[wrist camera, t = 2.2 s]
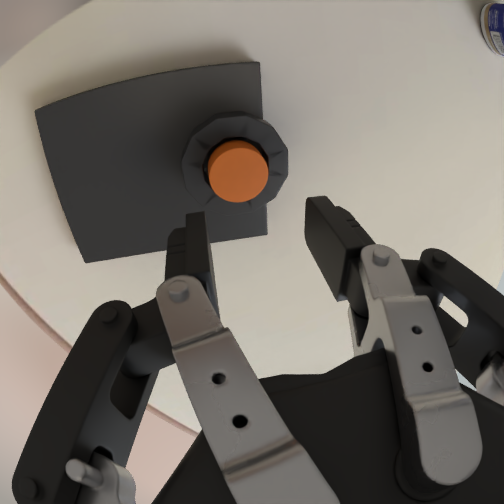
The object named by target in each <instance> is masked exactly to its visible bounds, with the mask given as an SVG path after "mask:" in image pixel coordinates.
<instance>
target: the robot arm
mask: <svg viewBox="0 0 504 504" xmlns="http://www.w3.org/2000/svg"><path fill="white" fill-rule="evenodd" d="M304 232H305V240H306V244H307V246H308V248H309V250H310V252H311V254H312V255H313V257H314V259H315V261H316V263H317V265H318V267H319V268H320V270H321V272H322V274H323V276H324V278H325V280H326V282H327V284H328V285H329V287H330V289H331V291H332V293H333V295H334V297H335V299H336V301H337V302H338V301H343V300H348V301H349V303H350V304H349V308H348V318H349V324H350V330H351V336H352V343H353V350H354V358H352V359H350V360H348V361H347V362H345V363H343V364H341V365H339V366H338V367H336V368H334V369H332V370H330V371H329V372H327V373H324V374H301V375H296V374H282V375H277V376H272V377H267V378H261V379H258V378H257V376H256V375H255V373H254V371H253V369H252V368H251V366H250V364H249V362H248V361H247V359H246V357H245V355H244V354H243V352H242V350H241V348H240V347H239V345H238V343H237V341H236V339H235V338H234V336H233V334H232V332H231V331H230V329H229V328H228V327H226V328H224V327H223V325H222V323H221V321H220V314H219V307H218V299H217V292H216V284H215V276H214V268H213V260H212V253H211V246H210V240H209V234H208V228H207V222H206V216H205V211H201V212H195V213H188V214H186V227H182V228H176V229H174V230H173V231H172V232H171V234H170V235H169V237H168V242H167V255H166V267H165V281H164V282H163V283H162V284H161V285H160V286H159V287H158V289H157V291H156V297H155V298H154V299H152V300H151V301H149V302H147V303H145V304H142V305H140V306H137V307H135V308H132V309H131V307H130V306H129V304H127V303H126V302H124V301H120V300H114V301H109V302H106V303H104V304H102V305H101V306H99V307H98V308H97V309H96V310H95V311H94V312H93V313H92V315H91V317H90V318H89V320H88V322H87V323H86V325H85V327H84V328H83V330H82V332H81V334H80V335H79V337H78V339H77V341H76V342H75V344H74V346H73V348H72V349H71V351H70V353H69V355H68V357H67V358H66V360H65V362H64V364H63V366H62V368H61V370H60V372H59V374H58V375H57V378H56V379H55V381H54V383H53V385H52V387H51V389H50V391H49V393H48V395H47V397H46V399H45V401H44V403H43V406H42V408H41V410H40V412H39V414H38V416H37V419H36V421H35V423H34V425H33V428H32V430H31V432H30V435H29V437H28V439H27V442H26V444H25V447H24V449H23V452H22V454H21V456H20V459H19V462H18V464H17V467H16V470H15V472H14V475H13V479H12V491H13V495H14V497H15V500H16V501H17V503H18V504H136V503H135V491H136V485H135V481H134V479H133V477H132V475H131V474H130V472H129V471H128V470H127V469H125V467H126V464H127V461H128V458H129V455H130V452H131V449H132V446H133V443H134V440H135V437H136V434H137V431H138V428H139V425H140V422H141V420H142V417H143V414H144V411H145V409H146V406H147V403H148V400H149V397H150V395H151V392H152V389H153V387H154V384H155V381H156V378H157V376H158V373H159V370H160V369H162V368H165V367H167V366H169V365H172V364H174V363H176V364H177V367H178V370H179V372H180V375H181V378H182V380H183V383H184V386H185V388H186V391H187V393H188V396H189V398H190V401H191V403H192V406H193V408H194V411H195V413H196V416H197V418H198V420H199V423H200V425H201V427H202V430H201V432H200V433H199V435H198V436H197V438H196V439H195V441H194V443H193V444H192V445H191V447H190V448H189V450H188V451H187V453H186V455H185V456H184V458H183V459H182V460H181V462H180V463H179V465H178V466H177V468H176V469H175V471H174V472H173V474H172V475H171V477H170V478H169V479H168V481H167V483H166V484H165V485H164V487H163V488H162V489H161V491H160V492H159V494H158V495H157V496H156V498H155V499H154V501H153V502H152V503H151V504H504V296H503V295H502V294H501V293H500V292H498V291H497V290H496V289H495V288H493V287H492V286H491V285H490V284H488V283H487V282H486V281H484V280H483V279H482V278H481V277H479V276H478V275H477V274H475V273H474V272H473V271H471V270H470V269H469V268H467V267H466V266H464V265H463V264H462V263H460V262H459V261H458V260H456V259H455V258H453V257H452V256H451V255H449V254H448V253H446V252H444V251H442V250H439V249H435V248H429V249H426V250H424V251H423V252H422V254H421V257H420V260H406V259H401V258H400V256H399V255H398V253H397V252H396V251H395V250H393V249H392V248H390V247H387V246H384V245H380V244H376V243H375V242H374V241H373V240H372V238H371V237H370V236H369V235H368V234H367V232H366V231H365V230H364V229H363V228H362V227H361V226H360V224H359V223H358V222H357V221H356V220H355V218H354V217H353V216H352V215H351V213H350V212H348V211H347V210H345V209H343V208H342V207H340V206H336V207H335V206H334V205H333V203H332V202H331V201H330V200H329V199H328V197H327V196H317V197H308V198H307V199H306V207H305V231H304ZM443 296H446V297H447V298H448V299H449V300H450V301H452V302H453V303H454V304H455V305H457V306H458V307H459V308H460V309H461V310H463V311H464V312H465V313H466V315H467V317H468V325H467V327H463V326H462V325H461V324H460V323H458V322H457V321H456V320H455V319H454V318H452V317H451V316H450V315H449V314H448V313H447V312H445V311H444V310H443V309H442V308H441V307H439V305H440V303H441V301H442V298H443ZM455 369H456V370H457V371H458V372H459V373H461V374H462V375H463V376H464V377H465V378H466V379H467V380H468V381H469V382H470V383H471V384H472V385H473V386H474V387H475V388H476V389H477V391H474V390H472V389H471V388H468V387H467V386H465V385H463V384H461V383H459V381H458V377H457V374H456V371H455Z"/></svg>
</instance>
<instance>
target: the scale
mask: <svg viewBox="0 0 504 504" xmlns="http://www.w3.org/2000/svg"><path fill="white" fill-rule="evenodd" d="M35 116H36V120H37V125H38V129H39V133H40V137H41V141H42V145H43V148H44V152H45V156H46V159H47V162H48V166H49V169H50V172H51V176H52V179H53V182H54V185H55V188H56V191H57V194H58V197H59V200H60V202H61V205H62V208H63V211H64V213H65V216H66V219H67V221H68V224H69V226H70V229H71V231H72V234H73V236H74V239H75V241H76V243H77V246H78V248H79V250H80V253H81V255H82V257H83V260H84V262H85V263H91V262H97V261H103V260H109V259H115V258H121V257H127V256H133V255H139V254H145V253H152V252H158V251H164V250H167V242H168V237H169V235H170V234H171V232H172V231H173V230H174V229H176V228H182V227H186V214H188V213H195V212H201V211H205V216H206V222H207V228H208V234H209V240H210V243H216V242H222V241H229V240H235V239H242V238H249V237H256V236H262V235H267V234H268V232H267V204H266V203H268V202H269V201H271V200H272V199H274V198H275V197H276V195H277V194H278V192H279V190H280V188H281V187H282V185H283V183H284V181H285V180H286V178H287V176H288V150H287V147H286V146H285V144H284V143H283V141H282V140H281V138H280V136H279V135H278V133H277V132H276V130H275V129H274V128H273V127H272V126H271V125H270V124H269V123H268V122H267V121H265V120H263V112H262V93H261V74H260V62H239V63H227V64H217V65H208V66H200V67H192V68H185V69H179V70H173V71H167V72H162V73H157V74H152V75H147V76H142V77H138V78H133V79H129V80H125V81H121V82H117V83H113V84H109V85H106V86H102V87H99V88H95V89H92V90H89V91H86V92H82V93H79V94H76V95H73V96H70V97H67V98H65V99H62V100H59V101H56V102H54V103H51V104H48V105H46V106H43V107H41V108H39V109H37V110H35ZM233 140H241V141H245V142H248V143H250V144H252V145H253V146H254V147H255V148H257V150H258V151H259V152H260V154H261V155H262V157H263V158H264V160H265V162H266V164H267V167H268V180H267V183H266V185H265V187H264V188H263V190H262V191H261V192H260V193H259V194H258V195H257V196H256V197H254V198H252V199H250V200H248V201H244V202H230V201H226V200H224V199H222V198H220V197H219V196H218V195H217V194H216V193H215V192H214V191H213V189H212V187H211V185H210V181H209V175H208V161H209V158H210V156H211V154H212V153H213V151H214V150H215V149H216V148H217V147H218V146H220V145H221V144H223V143H225V142H228V141H233Z"/></svg>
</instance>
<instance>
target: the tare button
mask: <svg viewBox="0 0 504 504" xmlns="http://www.w3.org/2000/svg"><path fill="white" fill-rule="evenodd" d="M208 175H209V181H210V185H211V187H212V189H213V191H214V192H215V193H216V194H217V195H218V196H219V197H220V198H222V199H224V200H226V201H230V202H244V201H248V200H250V199H252V198H254V197H256V196H257V195H258V194H259V193H260V192H261V191H262V190H263V188H264V187H265V185H266V183H267V180H268V167H267V164H266V162H265V160H264V158H263V157H262V155H261V154H260V152H259V151H258V150H257V148H255V147H254V146H253V145H252V144H250V143H248V142H245V141H241V140H233V141H228V142H225V143H223V144H221V145H220V146H218V147H217V148H216V149H215V150H214V151H213V153H212V154H211V156H210V158H209V161H208Z"/></svg>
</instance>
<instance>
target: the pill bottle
mask: <svg viewBox="0 0 504 504" xmlns="http://www.w3.org/2000/svg"><path fill="white" fill-rule="evenodd" d="M481 28H482V32H483V35H484V38H485V40H486V42H487V44H488V45H489V47H490V48H491V50H492V51H493V52H494V53H496V54H497V55H499V56H501V57H504V4H498V3H488V4H486V5H485V6H484V7H483V9H482V12H481Z"/></svg>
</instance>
